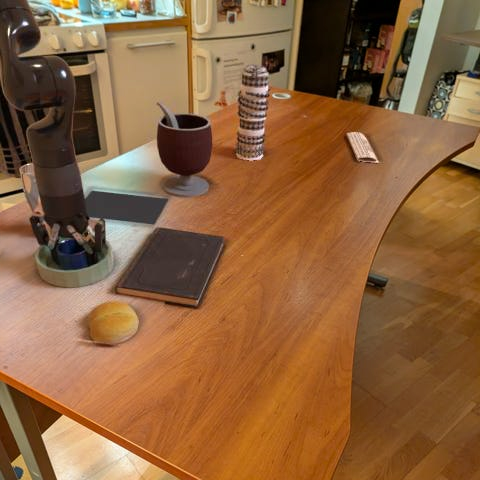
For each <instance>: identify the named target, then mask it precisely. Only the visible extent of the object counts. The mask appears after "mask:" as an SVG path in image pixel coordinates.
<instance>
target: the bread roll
mask: <svg viewBox="0 0 480 480" xmlns="http://www.w3.org/2000/svg"><path fill="white" fill-rule="evenodd" d="M139 322H140V321H139V317H138V316H137V314H136V312H135V310H134V309H133V307H131V306H129V305H128V304H127V303H125V302H121V301H118V300H111V301H105V302H103V303H100V304H98V305H97V306H95V307H93V309H92V310H91V311H90V312H89V314H88V316H87V325H88V327H89V329H90V330H89V336H90V338H91V339H92V341H94V342H97V343H102V344H107V345H118V344H121V343H123V342H126V341H127V340H129V339H131V338H132V337H133V336H134V335H135V334H136V333H137V331H138V328H139V324H140V323H139Z"/></svg>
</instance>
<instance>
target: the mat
mask: <svg viewBox="0 0 480 480" xmlns="http://www.w3.org/2000/svg"><path fill="white" fill-rule="evenodd" d="M168 201H169V198H164V197H157V196H156V197H155V196H149V195H148V196H146V195H137V194H128V193H120V192H109V191H100V190H91V191H90V192H89V194H88V195H86V197H85V202H86V212H87V214H88V216H89V217H90V219H104V220H108V221H109V220H110V221H117V222H125V223H126V222H127V223H135V224H144V225H155V224H156V223H157V221H158V219H159V217H160V215H161V213H162V212H163V210H164V208H165V206H166V205H167V203H168Z"/></svg>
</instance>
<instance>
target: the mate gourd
mask: <svg viewBox="0 0 480 480" xmlns="http://www.w3.org/2000/svg"><path fill="white" fill-rule="evenodd" d="M156 105H157V106H159V108H160V109H161V111H162V112H163V115H162V116H161V117H159V118H158V120H157V122H158V123H157V131H156V144H157V145H156V147H157V151H158V156H159V160H160V162H161V164H162V165H163V166H164V167H165V168H166V170H167V171H168V172H170V173H172V174H175V175H177V176H172V177H168V178H167V179H165V180H164V181H163V183H162V189H163V191H164V192H165V193H166V194H169V195H170V196H174V197H178V198H194V197H199V196H202V195H205V194H206V193H207V192H208V191H209V188H210V185H209V182H207V180H205V179H204V178H201V177H199V176H194V175H197V174H200V173H202V172H203V171H205V169H206V167H207V166H208V165H209V164H210V161H211V157H212V152H213V133H212V126H211V120H210V119H209V118H207V117H206V116H203V115H200V114H195V113H184V112H183V113H182V112H181V113H179V112H178V113H173V111H172V110H171V109H169V108H168V107H167V106H166V105H165V104H163V103H161V102H160V101H157V102H156Z"/></svg>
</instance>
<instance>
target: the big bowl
mask: <svg viewBox="0 0 480 480" xmlns="http://www.w3.org/2000/svg"><path fill="white" fill-rule="evenodd" d="M91 234H92V238H93V239H94V241H95V233H91ZM83 236H84V234H82V237H83ZM67 239H71V238H60V240H59V243H60V242H62V241H64V240H67ZM59 243H58V244H59ZM112 247H113V246H112V244H110V242H109V241H108V240H107V239H106V245H105V247H104V248H103V249H102V251H101V252H97V253H98V259H99V262H98V263H97V264H95V265H92V266H90V267H87V268H83V269H79V270H67V271H64V270H61V268H60V265H56V263H55V262H54V261H53V259H52V255H51V251H50V249H49V248H48V246H45V245H43V246H41V245H39V247H37V249H36V251H35V254H34V260H35V263H36V267H37V271H38V274H39V276H40V278H41V279H42V281H44V282H45V283H47V284H49V285H52V286H55V287H60V288H68V289H69V288H81V287H84V286H89V285H93V284H96V283H97V282H100V281H102V280H104V278H106V277H107V276H108V275H110V274H111V272H112V271H113V269H114V255H113V248H112Z"/></svg>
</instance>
